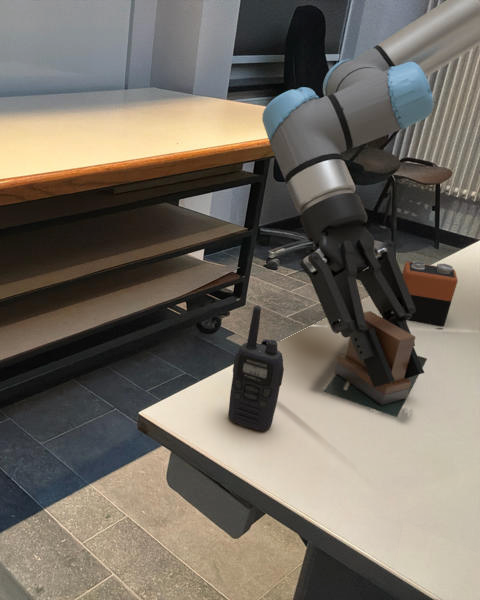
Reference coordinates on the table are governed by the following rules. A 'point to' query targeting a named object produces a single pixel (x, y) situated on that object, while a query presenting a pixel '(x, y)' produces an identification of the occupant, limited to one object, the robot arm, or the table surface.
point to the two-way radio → (255, 380)
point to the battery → (430, 291)
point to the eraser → (396, 353)
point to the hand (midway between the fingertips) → (399, 379)
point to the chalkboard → (352, 393)
